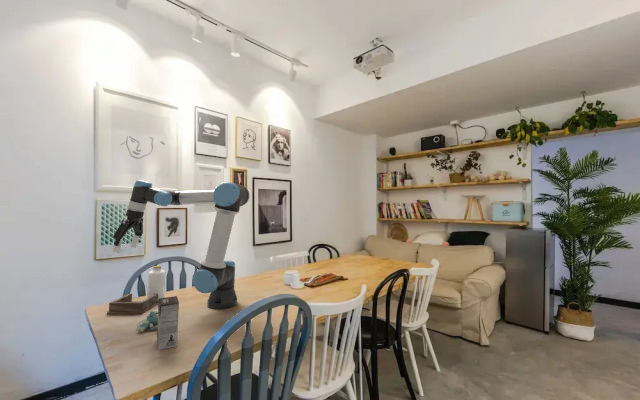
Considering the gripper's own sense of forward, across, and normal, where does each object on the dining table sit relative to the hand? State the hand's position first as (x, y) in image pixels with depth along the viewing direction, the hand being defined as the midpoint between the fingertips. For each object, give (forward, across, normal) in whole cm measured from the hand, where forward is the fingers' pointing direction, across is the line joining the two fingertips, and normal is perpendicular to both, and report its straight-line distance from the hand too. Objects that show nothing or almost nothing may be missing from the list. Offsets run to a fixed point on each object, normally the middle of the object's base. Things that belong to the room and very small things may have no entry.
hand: (124, 249), depth 146 cm
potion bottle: (+26, -12, +17) cm, 33 cm away
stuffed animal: (+20, +27, +35) cm, 48 cm away
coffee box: (+16, +41, +48) cm, 65 cm away
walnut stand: (+26, +4, +15) cm, 30 cm away
